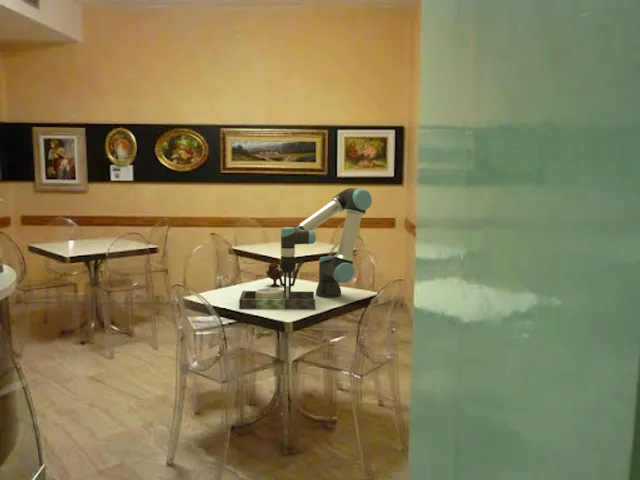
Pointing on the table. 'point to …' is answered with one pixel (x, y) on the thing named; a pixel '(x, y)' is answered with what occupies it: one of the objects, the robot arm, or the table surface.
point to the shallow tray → (278, 301)
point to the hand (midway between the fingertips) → (287, 298)
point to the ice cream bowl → (274, 273)
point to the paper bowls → (269, 293)
